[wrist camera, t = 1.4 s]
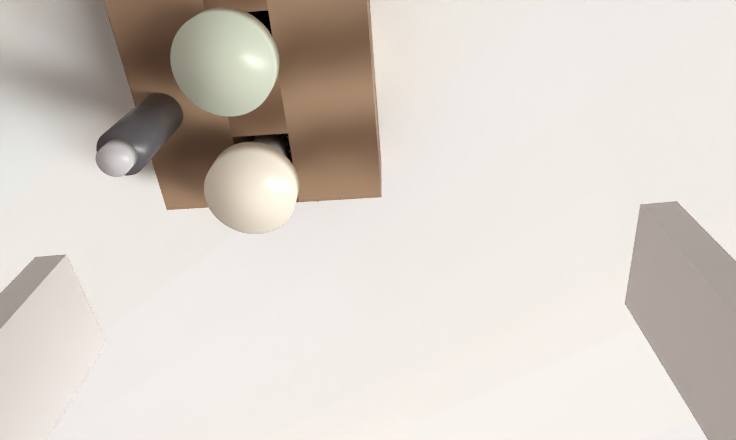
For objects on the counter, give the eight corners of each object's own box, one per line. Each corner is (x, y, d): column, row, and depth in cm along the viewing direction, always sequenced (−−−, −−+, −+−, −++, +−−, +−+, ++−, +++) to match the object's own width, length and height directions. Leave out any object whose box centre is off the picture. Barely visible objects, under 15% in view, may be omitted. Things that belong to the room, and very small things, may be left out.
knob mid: (196, -5, 31) (158, 16, 25) (285, -12, 30) (264, 7, 25) (216, 83, 33) (184, 119, 28) (298, 77, 33) (282, 113, 27)
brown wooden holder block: (101, -154, 30) (54, -163, 26) (356, -179, 29) (352, -192, 25) (189, 176, 40) (167, 209, 36) (381, 164, 39) (381, 197, 35)
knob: (223, 115, 34) (194, 155, 29) (302, 110, 34) (288, 149, 28) (239, 186, 37) (215, 236, 31) (313, 182, 36) (301, 231, 31)
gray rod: (136, 94, 32) (79, 140, 26) (177, 91, 32) (129, 136, 26) (148, 133, 33) (96, 185, 27) (187, 130, 33) (144, 182, 27)
